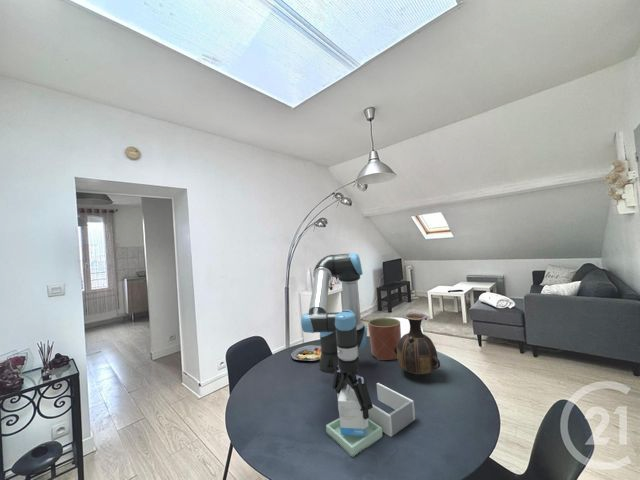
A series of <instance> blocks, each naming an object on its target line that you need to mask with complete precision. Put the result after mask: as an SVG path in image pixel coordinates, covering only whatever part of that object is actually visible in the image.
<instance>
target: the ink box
mask: <svg viewBox="0 0 640 480" xmlns="http://www.w3.org/2000/svg"><path fill="white" fill-rule="evenodd" d="M346 384H347V385H346V388H345V387H344V388H342V389H341V392H340V395H339V399H338V400H337V404H338V403H339V411H338V415H339V417H338V418H340V430H341V435H346V436H365V429H361V419H360V408H361V406H360V404H359V401H358V399H357V397H356V394H355V392H354V390H353V389H352V388H351V386H350V385H349V384H348V383H346Z"/></svg>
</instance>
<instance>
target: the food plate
mask: <svg viewBox="0 0 640 480" xmlns="http://www.w3.org/2000/svg"><path fill="white" fill-rule="evenodd" d="M303 351H304V352H303ZM300 352H301V354H299V353H300ZM303 354H305V355H303ZM290 355H291V357H292V359H293V360H298V361H306V362H307V361H308V362H309V361H310V362H312V361H313V362H315V361H320V357H321V344H319V345H318V344H310V345H303V346H300V347H298V348H296V349H294V350H293V352H291V354H290Z"/></svg>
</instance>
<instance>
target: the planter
mask: <svg viewBox="0 0 640 480" xmlns="http://www.w3.org/2000/svg"><path fill="white" fill-rule="evenodd" d="M367 324H368V325H367V327H368V336H369V344H370V352H371V356H373V357H374V358H376V360H378V361H387V360H388V361H391V360H398V359H397V355H396V353H395V351H394V349H395V347H396V346H398V343H399V341H400V339H401V338H402V332H401V321H400V320H399V319H396V318H393V317H392V318H391V317H377V318H372V319H370V320H368V322H367ZM396 350H397V348H396Z"/></svg>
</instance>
